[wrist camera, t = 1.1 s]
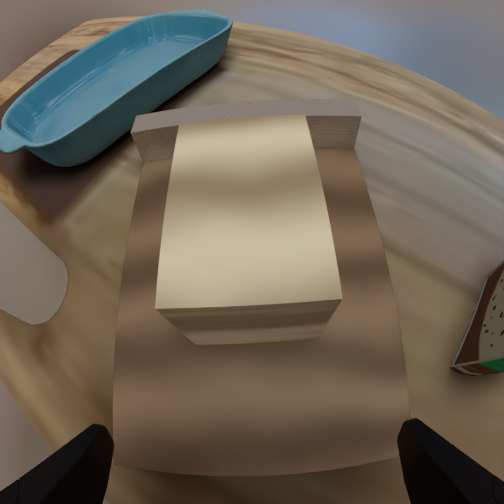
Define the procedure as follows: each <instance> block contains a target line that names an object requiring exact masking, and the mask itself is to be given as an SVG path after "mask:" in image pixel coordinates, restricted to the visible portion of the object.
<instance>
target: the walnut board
mask: <svg viewBox="0 0 504 504" xmlns="http://www.w3.org/2000/svg"><path fill="white" fill-rule="evenodd" d="M314 152H315V156H316V160H317V165H318V169H319V173H320V178H321V182H322V187H323V192H324V196H325V201H326V206H327V211H328V216H329V221H330V226H331V232H332V237H333V243H334V248H335V254H336V260H337V266H338V272H339V278H340V284H341V291H342V298H343V299H342V301H341V302H340V304H339V306H338V307H337V309H336V310H335V312H334V313H333V315H332V317H331V318H330V320H329V321H328V323H327V324H326V326H325V327H324V329H323V330H322V332H321V333H320V335H319V336H318V338H317V339H307V340H295V341H281V342H265V343H245V344H214V345H195V344H194V343H193V342H192V341H191V340H189V339H188V338H187V337H186V336H185V335H184V334H183V333H181V332H180V331H179V330H178V329H177V328H176V327H175V326H174V325H172V324H171V323H170V322H169V321H168V320H167V319H166V318H165V317H164V316H162V315H161V314H160V313H159V312H158V311H157V310H156V309H155V301H156V288H157V277H158V266H159V256H160V247H161V238H162V229H163V221H164V214H165V206H166V199H167V192H168V186H169V179H170V173H171V167H172V161H173V159H168V160H161V161H153V162H146V163H144V164H143V168H142V172H141V177H140V181H139V185H138V190H137V195H136V200H135V204H134V209H133V215H132V220H131V225H130V231H129V236H128V242H127V249H126V255H125V261H124V268H123V276H122V283H121V291H120V300H119V309H118V319H117V330H116V343H115V358H114V380H113V441H114V465H119V466H125V467H130V468H136V469H143V470H150V471H158V472H166V473H176V474H187V475H202V476H274V475H289V474H301V473H310V472H319V471H326V470H334V469H340V468H346V467H352V466H358V465H363V464H368V463H373V462H377V461H382V460H386V459H390V458H394V457H398V456H400V455H399V450H398V445H397V437H398V434H399V432H400V429H401V427H402V424H403V422H404V421H406V420H409V419H411V418H410V405H409V394H408V384H407V375H406V367H405V359H404V352H403V345H402V338H401V332H400V326H399V320H398V314H397V309H396V303H395V298H394V293H393V288H392V283H391V279H390V274H389V270H388V265H387V261H386V257H385V252H384V248H383V244H382V240H381V236H380V233H379V229H378V225H377V221H376V218H375V214H374V211H373V207H372V204H371V200H370V197H369V194H368V190H367V187H366V184H365V181H364V177H363V174H362V171H361V168H360V165H359V162H358V159H357V156H356V153H355V151H354V149H314Z"/></svg>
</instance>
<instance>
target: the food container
mask: <svg viewBox="0 0 504 504" xmlns="http://www.w3.org/2000/svg"><path fill="white" fill-rule="evenodd" d="M450 368H451V369H453V370H455V371H456V372H458V373H460V374H466V375H472V376H477V375H486V374H494V373H501V372H504V260H503V261H502V262H501V263H500V264H499V265H498V266H497V267H496V268H495V269H494V270H493V271H492V272H490V273H489V274H488V275H487V276H486V277H485V281H484V284H483V287H482V290H481V293H480V296H479V299H478V301H477V304H476V307H475V310H474V312H473V315H472V318H471V320H470V323H469V325H468V328H467V330H466V332H465V335H464V337H463V340H462V342H461V344H460V346H459V349H458V351H457V353H456V355H455V357H454V360H453V362H452V364H451V366H450Z"/></svg>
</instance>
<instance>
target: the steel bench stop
mask: <svg viewBox="0 0 504 504" xmlns="http://www.w3.org/2000/svg"><path fill="white" fill-rule="evenodd" d="M304 114H305V116H306V120H307V124H308V128H309V132H310V136H311V140H312V144H313V148H314V149H354V146H355V142H356V138H357V134H358V129H359V125H360V121H361V117H362V116H361V114H360V112H359V110H358V108H357V105H356V103H355V101H354V100H338V99H284V100H261V101H245V102H232V103H221V104H212V105H203V106H195V107H187V108H180V109H173V110H167V111H160V112H155V113H149V114H143V115H138V116H136V118H135V121H134V124H133V127H132V130H131V135H132V138H133V140H134V142H135V144H136V147H137V149H138V151H139V153H140V156H141V158H142V160H143V162H144V163H146V162H153V161H161V160H168V159H173V155H174V149H175V144H176V138H177V133H178V128H179V124H182V123H190V122H198V121H207V120H216V119H227V118H239V117H253V116H271V115H304Z"/></svg>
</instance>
